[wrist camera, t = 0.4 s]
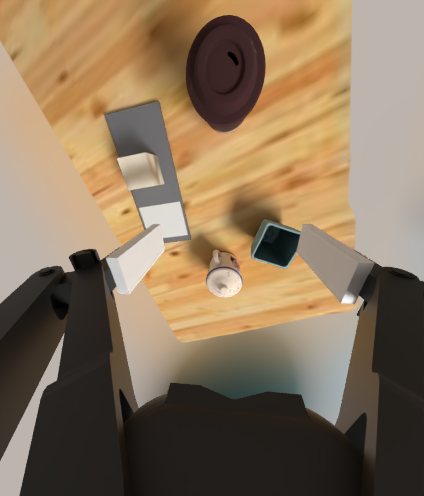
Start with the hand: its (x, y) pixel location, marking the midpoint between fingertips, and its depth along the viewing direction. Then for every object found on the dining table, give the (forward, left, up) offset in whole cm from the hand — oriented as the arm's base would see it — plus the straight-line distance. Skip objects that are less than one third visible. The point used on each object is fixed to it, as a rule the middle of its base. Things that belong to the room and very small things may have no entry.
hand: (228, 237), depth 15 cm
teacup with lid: (+17, -4, -27) cm, 32 cm away
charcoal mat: (-6, -18, -26) cm, 32 cm away
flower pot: (+10, +9, -27) cm, 30 cm away
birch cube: (-9, -18, -26) cm, 32 cm away
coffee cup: (-17, +1, -27) cm, 31 cm away
